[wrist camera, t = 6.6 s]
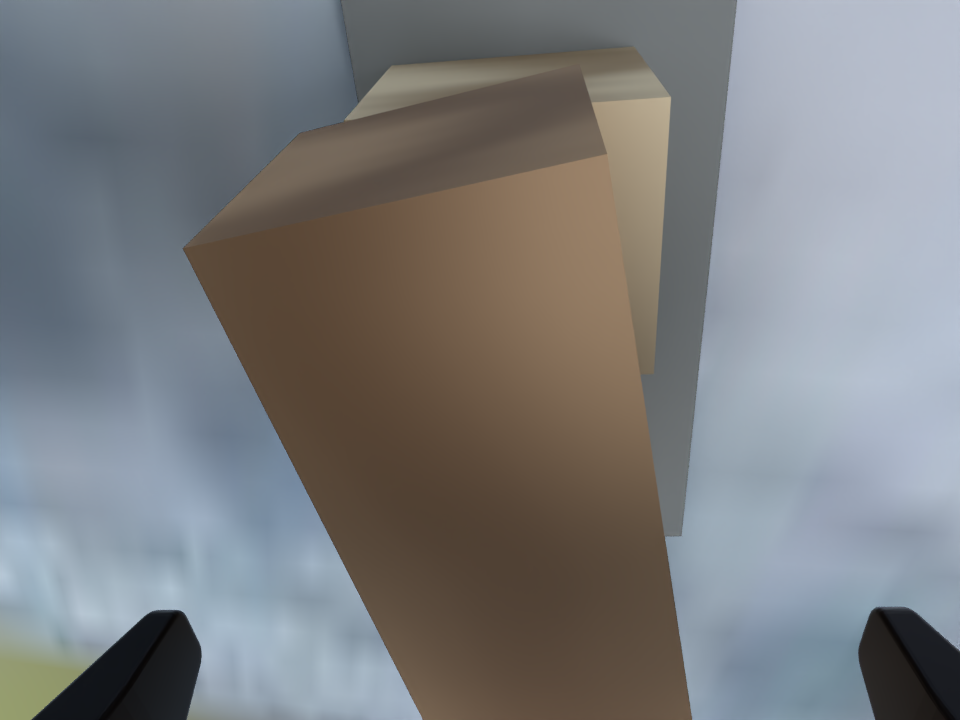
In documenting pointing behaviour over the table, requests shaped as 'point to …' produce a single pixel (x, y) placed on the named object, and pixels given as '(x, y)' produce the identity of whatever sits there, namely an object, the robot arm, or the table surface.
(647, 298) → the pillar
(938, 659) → the robot arm
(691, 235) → the mat
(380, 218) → the lintel
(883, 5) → the table surface
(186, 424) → the table surface
